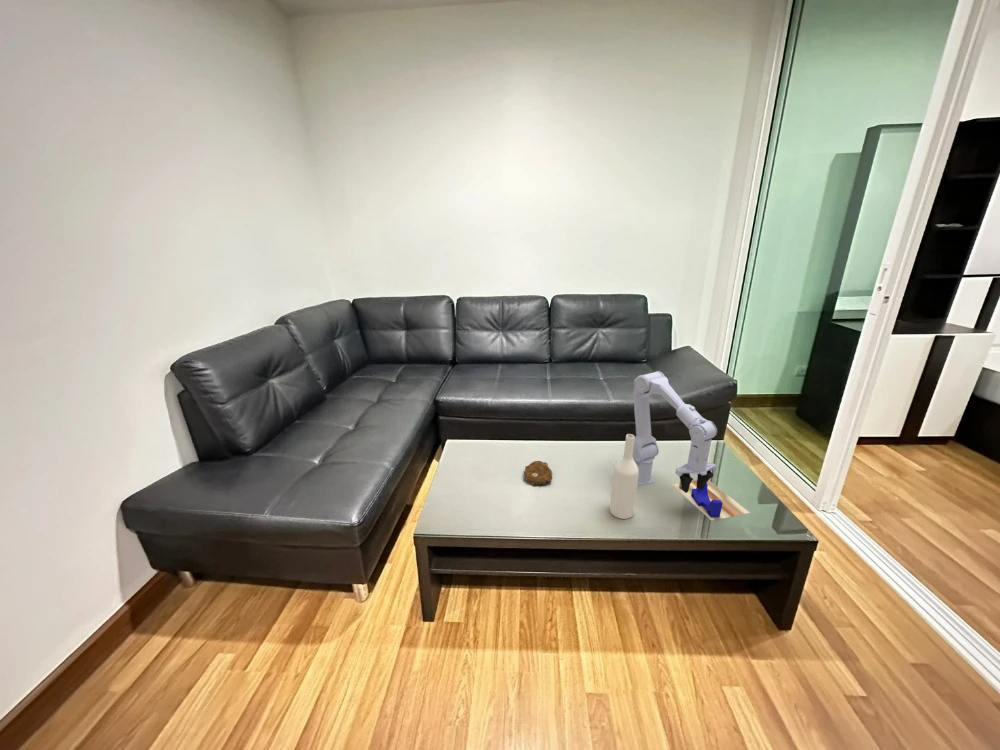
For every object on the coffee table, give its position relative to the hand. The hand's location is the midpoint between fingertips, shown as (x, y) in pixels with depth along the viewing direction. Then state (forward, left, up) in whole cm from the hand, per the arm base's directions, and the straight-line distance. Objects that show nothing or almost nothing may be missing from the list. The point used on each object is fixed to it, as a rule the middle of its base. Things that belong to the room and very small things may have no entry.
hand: (692, 489), depth 136 cm
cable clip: (+7, 0, -8) cm, 11 cm away
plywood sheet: (+12, +4, -8) cm, 15 cm away
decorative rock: (-45, +33, -9) cm, 56 cm away
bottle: (-23, +5, -9) cm, 26 cm away
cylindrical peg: (+7, +11, -8) cm, 15 cm away
